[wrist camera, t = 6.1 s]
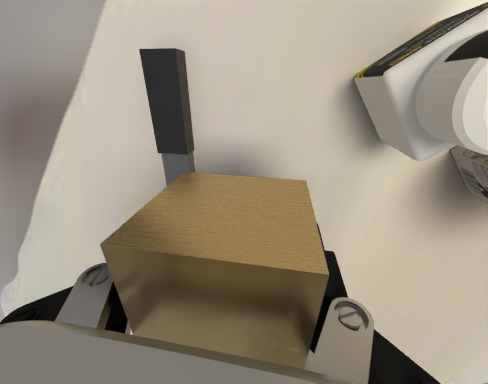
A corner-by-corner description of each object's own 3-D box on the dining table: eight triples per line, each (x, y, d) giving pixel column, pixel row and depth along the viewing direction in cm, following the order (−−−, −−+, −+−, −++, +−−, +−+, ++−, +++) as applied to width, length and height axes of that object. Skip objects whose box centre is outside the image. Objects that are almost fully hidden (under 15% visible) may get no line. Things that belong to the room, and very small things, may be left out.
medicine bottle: (440, 19, 17) (688, -81, 7) (462, 99, 19) (678, 118, 9) (351, 76, 20) (429, 68, 9) (379, 141, 22) (469, 194, 11)
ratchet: (210, 51, 21) (183, 39, 15) (221, 255, 33) (208, 291, 27) (126, 52, 22) (73, 41, 16) (166, 248, 34) (143, 281, 28)
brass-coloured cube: (306, 180, 11) (329, 274, 5) (291, 273, 13) (297, 395, 8) (184, 171, 11) (99, 244, 6) (195, 260, 14) (143, 362, 9)
